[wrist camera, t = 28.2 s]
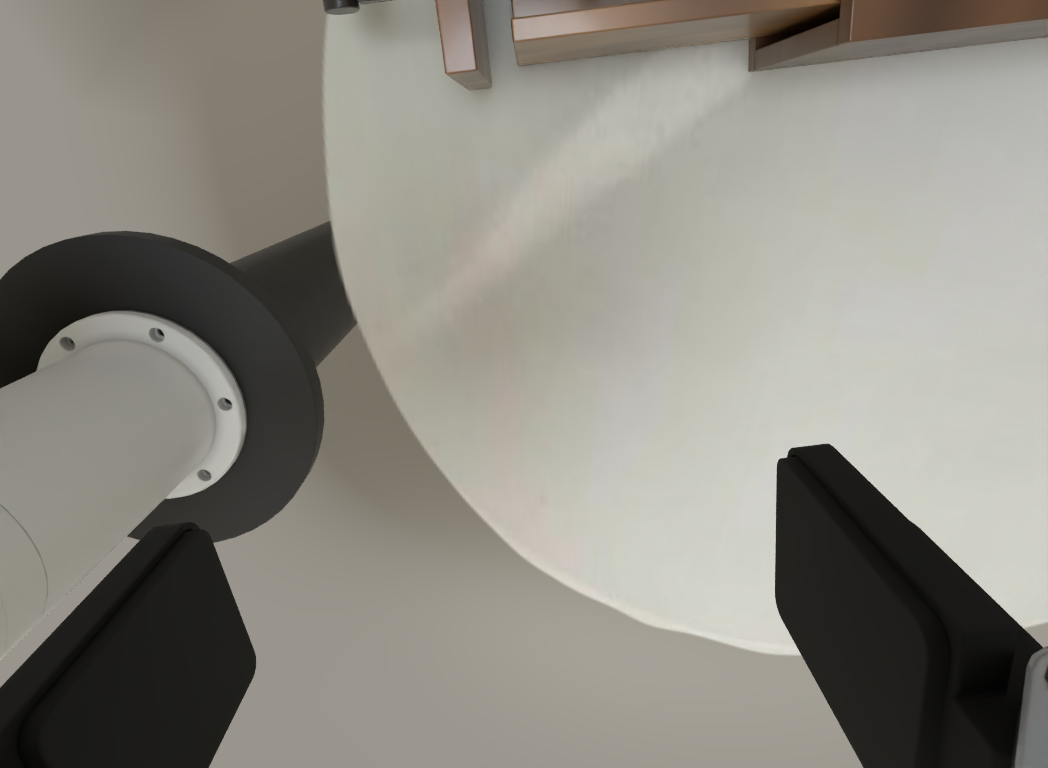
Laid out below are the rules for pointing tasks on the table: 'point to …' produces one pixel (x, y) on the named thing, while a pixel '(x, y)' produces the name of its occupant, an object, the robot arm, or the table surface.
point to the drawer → (605, 27)
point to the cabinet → (901, 30)
